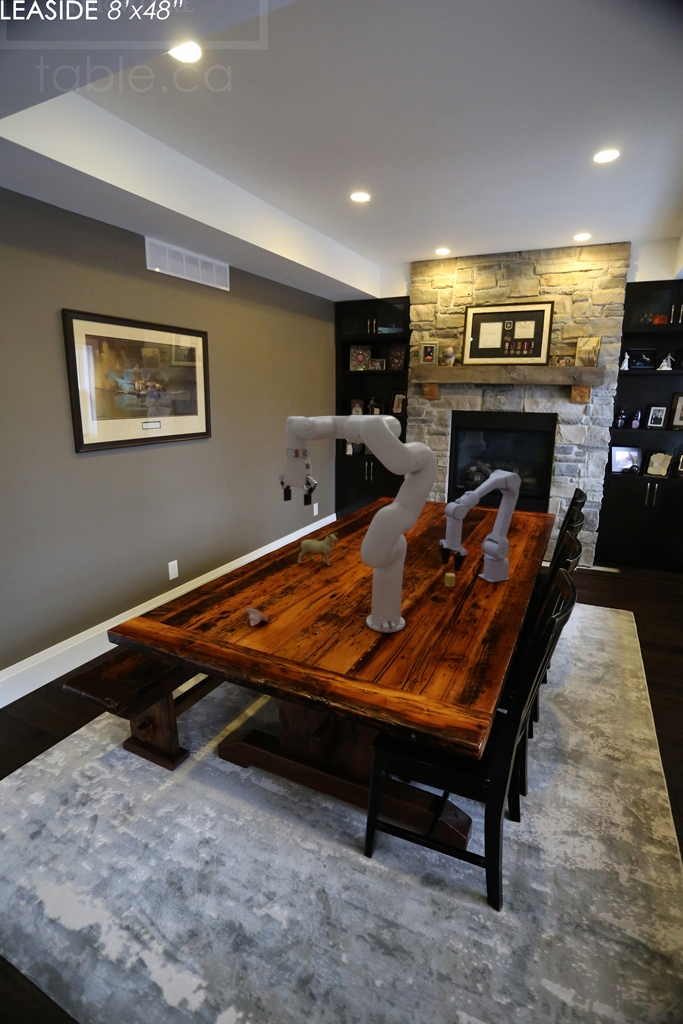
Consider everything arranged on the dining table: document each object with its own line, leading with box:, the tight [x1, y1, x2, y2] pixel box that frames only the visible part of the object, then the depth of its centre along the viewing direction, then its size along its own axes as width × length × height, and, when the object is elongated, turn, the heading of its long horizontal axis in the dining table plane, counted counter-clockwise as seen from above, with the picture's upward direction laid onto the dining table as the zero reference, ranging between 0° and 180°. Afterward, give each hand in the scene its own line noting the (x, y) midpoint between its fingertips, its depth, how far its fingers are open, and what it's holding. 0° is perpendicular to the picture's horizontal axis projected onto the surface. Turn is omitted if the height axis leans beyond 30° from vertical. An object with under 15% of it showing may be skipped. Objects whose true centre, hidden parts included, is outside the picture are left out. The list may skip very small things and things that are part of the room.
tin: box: [444, 572, 456, 588], centre depth 195 cm, size 4×4×4 cm
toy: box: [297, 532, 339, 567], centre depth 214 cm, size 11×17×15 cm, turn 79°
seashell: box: [245, 607, 269, 627], centre depth 160 cm, size 8×5×8 cm
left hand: (297, 502), depth 173 cm, fingers open, 9 cm apart
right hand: (451, 567), depth 194 cm, fingers open, 7 cm apart
